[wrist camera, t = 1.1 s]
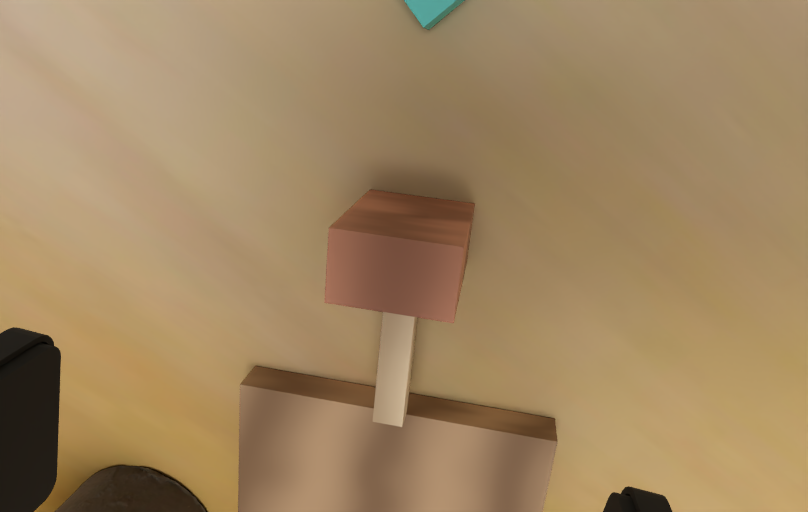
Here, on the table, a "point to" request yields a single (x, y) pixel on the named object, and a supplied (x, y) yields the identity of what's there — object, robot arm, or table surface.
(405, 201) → the wooden mallet
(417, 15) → the alien figure
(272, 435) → the plank
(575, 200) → the table surface
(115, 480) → the pillar candle
